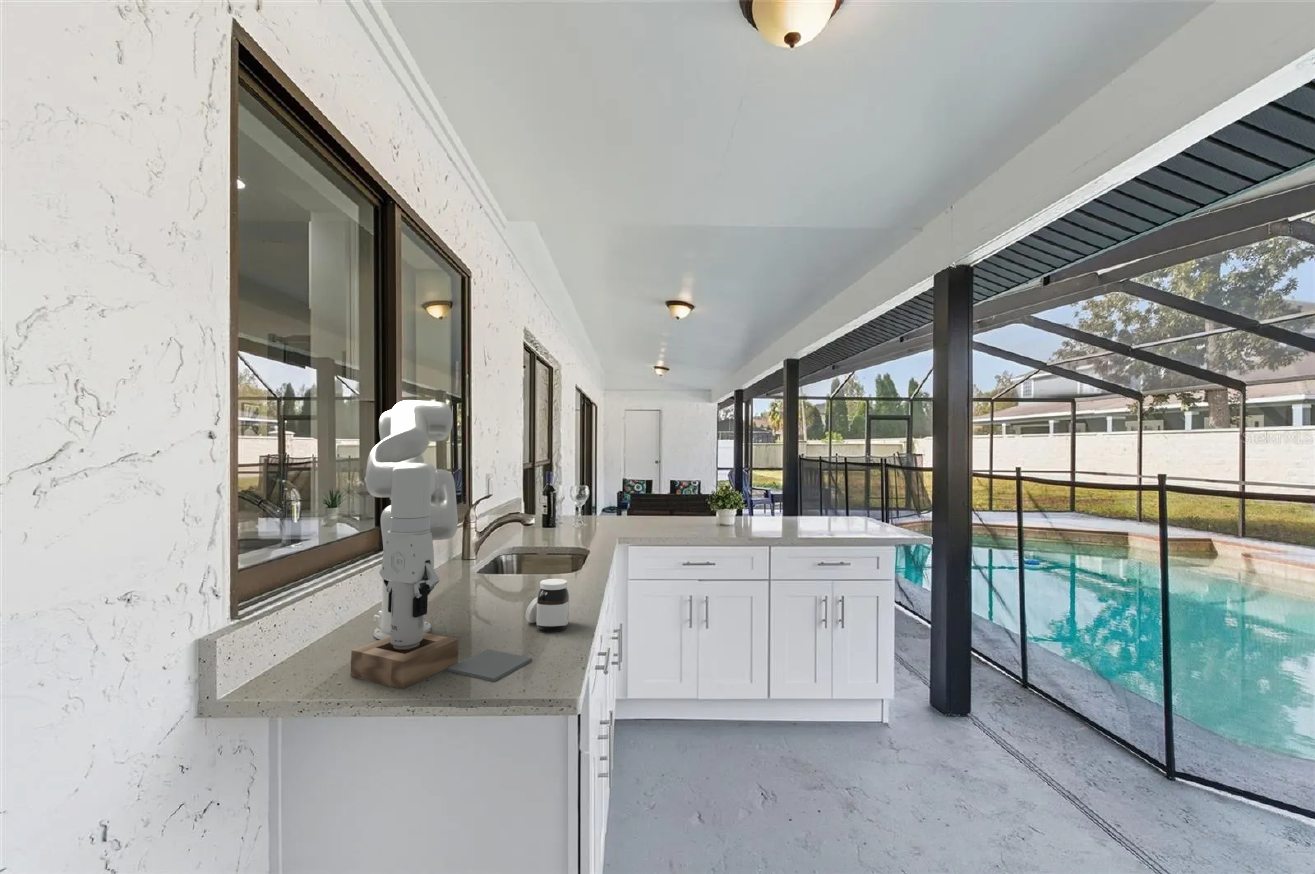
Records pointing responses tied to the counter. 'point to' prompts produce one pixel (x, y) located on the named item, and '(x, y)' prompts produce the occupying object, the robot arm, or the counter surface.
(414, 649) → the walnut frame
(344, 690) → the counter surface
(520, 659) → the rubber mat
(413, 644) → the energy drink can
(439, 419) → the robot arm
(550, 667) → the counter surface
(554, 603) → the spread jar
